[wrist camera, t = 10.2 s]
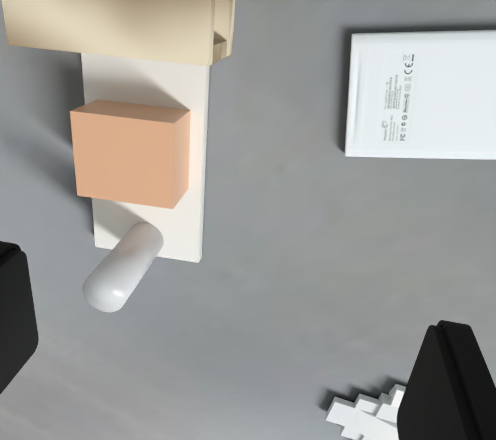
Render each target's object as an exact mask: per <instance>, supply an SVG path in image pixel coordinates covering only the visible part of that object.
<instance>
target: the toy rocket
mask: <svg viewBox="0 0 496 440" xmlns="http://www.w3.org/2000/svg"><path fill="white" fill-rule="evenodd" d="M405 389H406V387H404V386H401V385H398V384H395V385H394V387H393V388H392V389H391V390H390V392H389V395H388V394H385V393H381V395H380V397H379V398H378V399H375V398H372V397H369V396H366V395H363V394H359V395H358V397H357V399H356V401H355V403H353V402H350V401H347V400H344V399H341V398H338V397H334V399H333V401H332V403H331V405H330V407H329V409H328V411H327V413H326V421H329V422H333V423H336V424H339V425H342V428H341V429H340V435H341V436H344V437H347V438H350V439H353V440H399V438H398V431H397V412H398V408H399V406H400V403H401V400H402V397H403V395H404V392H405Z"/></svg>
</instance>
